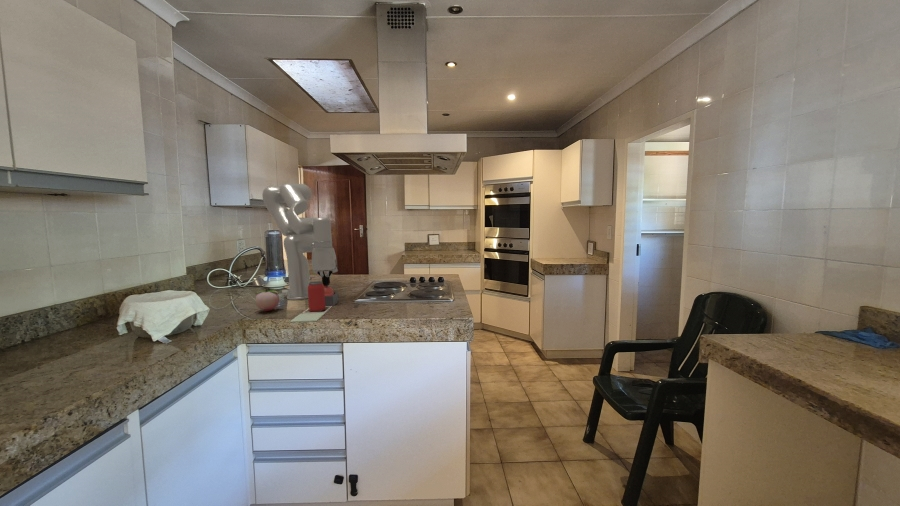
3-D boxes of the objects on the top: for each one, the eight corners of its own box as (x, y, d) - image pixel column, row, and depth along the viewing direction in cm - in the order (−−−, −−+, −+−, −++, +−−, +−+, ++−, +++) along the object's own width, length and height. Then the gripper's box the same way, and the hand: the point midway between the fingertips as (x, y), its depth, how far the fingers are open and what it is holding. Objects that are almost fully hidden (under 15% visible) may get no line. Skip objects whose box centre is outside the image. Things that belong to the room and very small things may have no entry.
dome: (317, 301, 149) (316, 287, 149) (322, 297, 156) (321, 284, 155) (331, 300, 150) (330, 287, 149) (335, 297, 156) (334, 284, 155)
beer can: (328, 309, 143) (326, 282, 142) (313, 313, 138) (311, 284, 137) (321, 307, 148) (319, 280, 146) (306, 310, 143) (304, 283, 141)
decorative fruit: (253, 315, 138) (251, 291, 136) (258, 310, 145) (256, 287, 144) (279, 312, 140) (277, 289, 139) (282, 307, 148) (280, 285, 147)
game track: (289, 322, 127) (288, 310, 126) (316, 302, 157) (316, 292, 156) (316, 321, 127) (315, 309, 127) (338, 301, 157) (337, 292, 157)
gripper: (303, 246, 146) (306, 288, 148) (337, 245, 146) (340, 286, 148) (309, 245, 153) (312, 284, 155) (342, 244, 154) (345, 283, 156)
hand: (326, 285), depth 152 cm, fingers closed
